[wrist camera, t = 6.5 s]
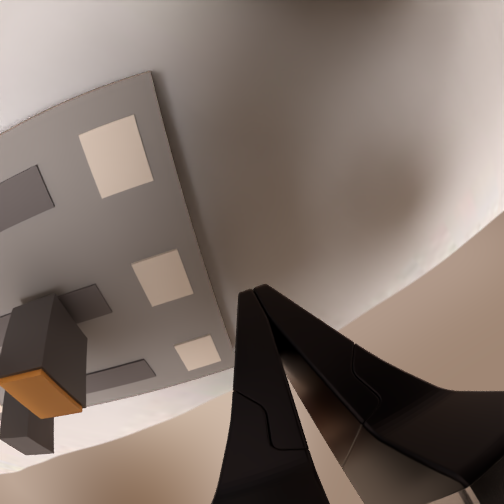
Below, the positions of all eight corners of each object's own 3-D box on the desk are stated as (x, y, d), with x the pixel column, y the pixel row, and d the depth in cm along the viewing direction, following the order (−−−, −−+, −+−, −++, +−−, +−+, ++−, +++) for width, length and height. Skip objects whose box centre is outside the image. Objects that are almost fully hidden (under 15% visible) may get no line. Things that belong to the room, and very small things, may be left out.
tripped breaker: (54, 293, 9) (41, 371, 7) (87, 338, 11) (86, 412, 8) (13, 308, 9) (-6, 382, 6) (47, 349, 10) (40, 420, 8)
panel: (150, 70, 8) (152, 77, 5) (232, 347, 16) (258, 417, 13) (-135, 243, 5) (-174, 301, 2) (-2, 405, 13) (-7, 462, 10)
